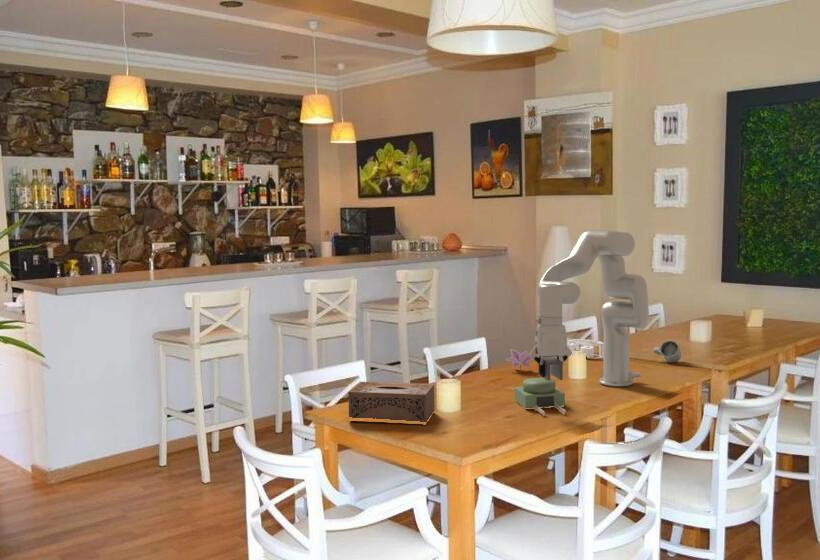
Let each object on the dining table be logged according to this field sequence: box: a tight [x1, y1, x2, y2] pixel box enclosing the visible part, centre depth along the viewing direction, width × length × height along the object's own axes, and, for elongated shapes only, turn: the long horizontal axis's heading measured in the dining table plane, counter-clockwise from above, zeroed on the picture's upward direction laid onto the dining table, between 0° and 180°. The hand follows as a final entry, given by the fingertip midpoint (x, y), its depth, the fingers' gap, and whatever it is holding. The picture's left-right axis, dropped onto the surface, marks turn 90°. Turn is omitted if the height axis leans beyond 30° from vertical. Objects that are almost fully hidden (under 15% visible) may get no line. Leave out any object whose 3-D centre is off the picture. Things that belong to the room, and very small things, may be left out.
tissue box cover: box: [347, 381, 436, 422], centre depth 252 cm, size 26×14×10 cm, turn 77°
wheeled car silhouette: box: [567, 337, 604, 360], centre depth 341 cm, size 20×11×7 cm, turn 37°
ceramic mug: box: [653, 340, 682, 364], centre depth 326 cm, size 11×8×8 cm
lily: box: [505, 348, 534, 374], centre depth 315 cm, size 12×12×10 cm
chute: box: [538, 356, 564, 381], centre depth 251 cm, size 5×9×6 cm, turn 9°
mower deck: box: [514, 377, 567, 415], centre depth 259 cm, size 14×21×8 cm, turn 9°
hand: (550, 375), depth 251 cm, fingers closed on chute, 5 cm apart
